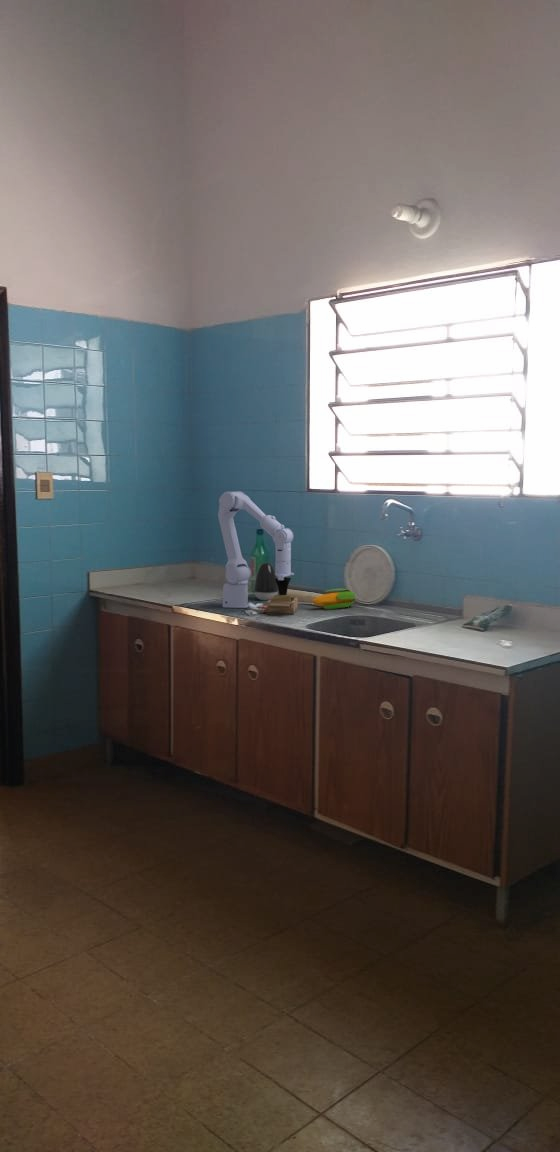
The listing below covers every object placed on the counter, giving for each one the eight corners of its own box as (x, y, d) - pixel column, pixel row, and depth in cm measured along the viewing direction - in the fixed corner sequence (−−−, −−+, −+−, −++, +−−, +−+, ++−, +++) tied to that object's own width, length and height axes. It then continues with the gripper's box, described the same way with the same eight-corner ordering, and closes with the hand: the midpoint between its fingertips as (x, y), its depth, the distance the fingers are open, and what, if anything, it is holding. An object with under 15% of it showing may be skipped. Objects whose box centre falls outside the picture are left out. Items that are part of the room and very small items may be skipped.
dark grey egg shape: (280, 598, 377) (280, 561, 375) (277, 601, 366) (277, 563, 365) (255, 597, 378) (255, 560, 376) (252, 601, 367) (252, 563, 366)
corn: (360, 587, 352) (318, 591, 341) (360, 607, 352) (319, 611, 341) (348, 586, 358) (306, 590, 347) (348, 606, 358) (307, 610, 347)
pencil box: (293, 614, 334) (293, 603, 333) (266, 614, 335) (266, 602, 335) (297, 608, 350) (298, 597, 349) (271, 607, 351) (271, 596, 350)
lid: (288, 607, 329) (288, 600, 329) (268, 607, 330) (268, 599, 330) (292, 602, 343) (292, 594, 343) (273, 601, 344) (273, 594, 344)
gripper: (291, 563, 334) (291, 600, 335) (295, 559, 348) (295, 594, 350) (272, 562, 334) (272, 599, 336) (277, 559, 349) (277, 594, 350)
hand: (282, 597), depth 343 cm, fingers closed
